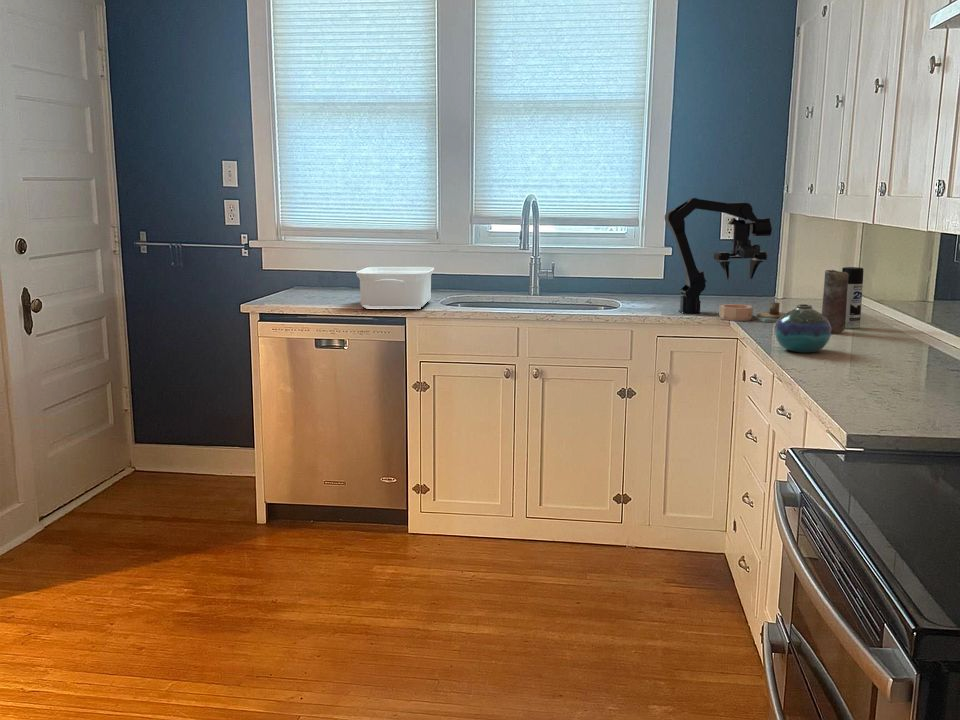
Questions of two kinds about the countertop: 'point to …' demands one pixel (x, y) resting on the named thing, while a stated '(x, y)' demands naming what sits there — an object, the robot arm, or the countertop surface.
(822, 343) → the vase
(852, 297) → the spray can
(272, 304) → the countertop surface
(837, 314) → the candle
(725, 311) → the bowl
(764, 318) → the mat
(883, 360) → the countertop surface
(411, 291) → the white storage tub
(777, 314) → the lid
